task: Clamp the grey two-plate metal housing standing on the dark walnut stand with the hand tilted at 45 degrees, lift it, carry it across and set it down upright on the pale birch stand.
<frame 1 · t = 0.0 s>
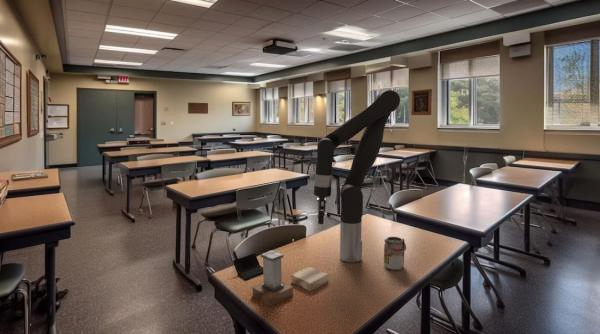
hand: (320, 221, 146), 17 cm above the table, tool pointing down, fingers open, 8 cm apart
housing: (272, 287, 117), point 3 cm above the table, touching stand a
stand b: (309, 281, 127), on the table
stand a: (272, 295, 117), on the table
handheld gaming console: (250, 273, 136), on the table
beverage can: (394, 267, 139), on the table
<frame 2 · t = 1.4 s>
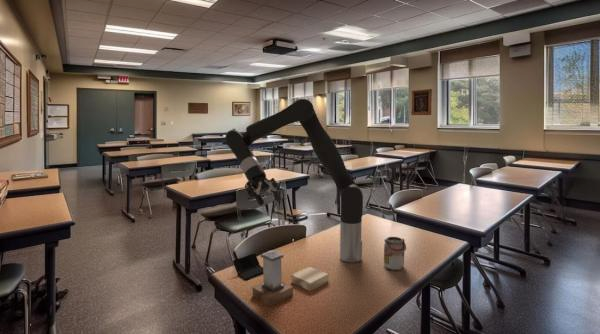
hand: (271, 202, 131), 29 cm above the table, tool tilted 45°, fingers open, 8 cm apart
nothing on the table moved.
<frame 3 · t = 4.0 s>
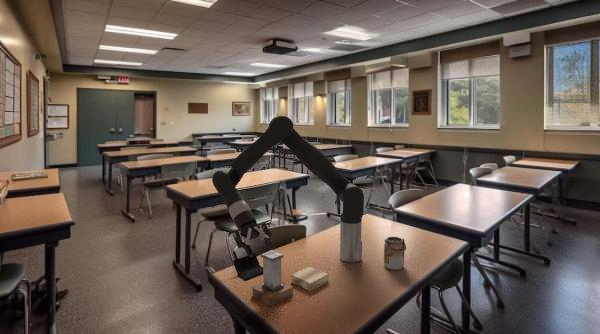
hand: (261, 252, 120), 14 cm above the table, tool tilted 45°, fingers open, 8 cm apart
nothing on the table moved.
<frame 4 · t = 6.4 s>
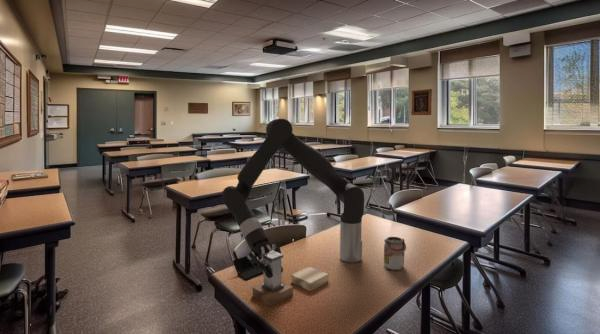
hand: (276, 274, 115), 8 cm above the table, tool tilted 45°, fingers closed on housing, 4 cm apart
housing: (272, 287, 117), point 3 cm above the table, touching gripper, stand a
everything else where it was.
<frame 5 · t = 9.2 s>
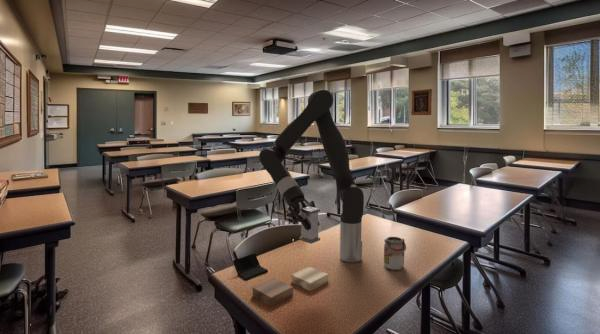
hand: (313, 227, 123), 22 cm above the table, tool tilted 45°, fingers closed on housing, 4 cm apart
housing: (309, 239, 125), point 17 cm above the table, touching gripper
everything else where it was.
when the fingers open (10 cm above the table, at t = 11.9 s): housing drops 1 cm, resting on stand b.
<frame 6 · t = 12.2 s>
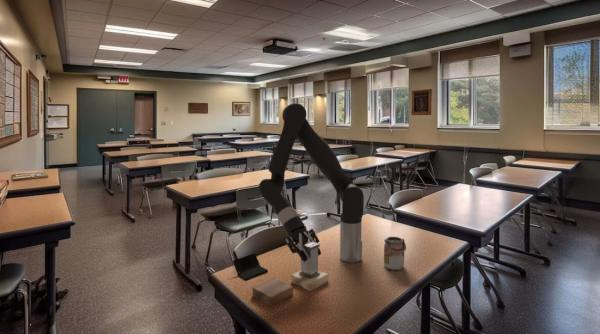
hand: (312, 257, 125), 10 cm above the table, tool tilted 45°, fingers open, 6 cm apart
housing: (309, 274, 127), point 3 cm above the table, touching stand b
everything else where it was.
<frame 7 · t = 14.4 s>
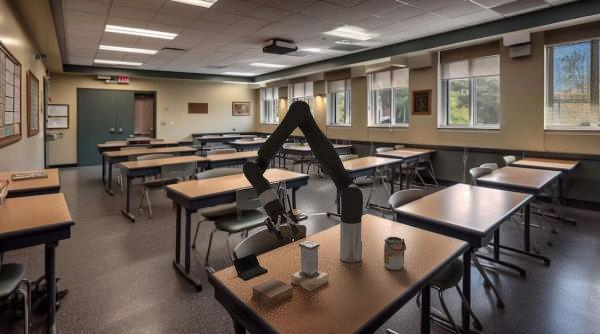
hand: (289, 237, 134), 15 cm above the table, tool tilted 40°, fingers open, 8 cm apart
nothing on the table moved.
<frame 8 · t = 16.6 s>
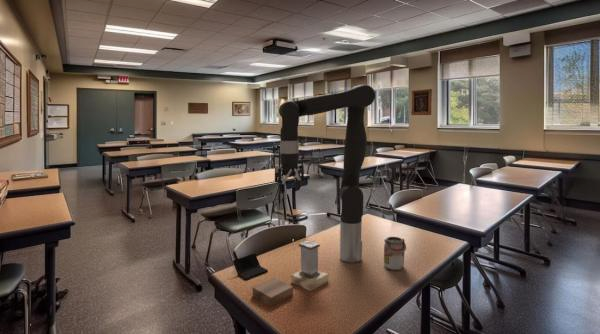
hand: (289, 191, 137), 32 cm above the table, tool pointing down, fingers open, 8 cm apart
nothing on the table moved.
at the end: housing inside the target area on the stand b (0.1 cm from its centre), point 3.0 cm above the stand b's base; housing tilted 0°; the gripper is holding nothing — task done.
